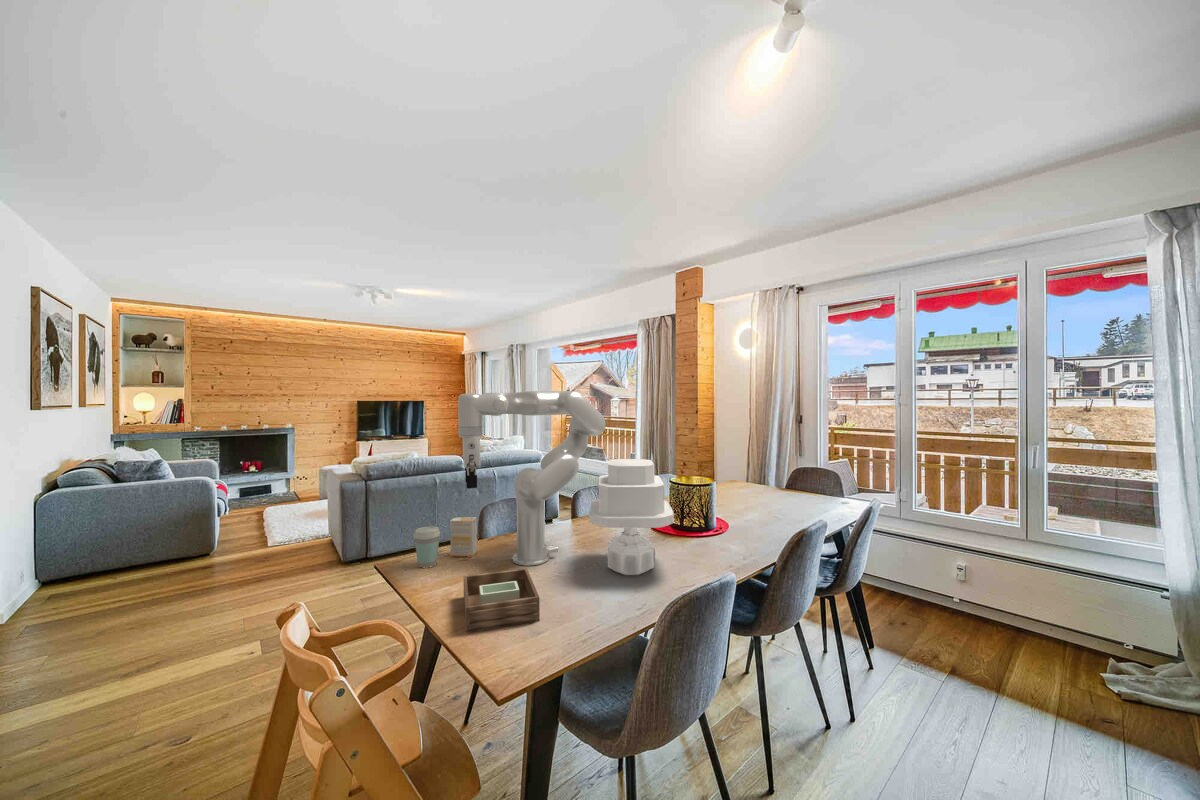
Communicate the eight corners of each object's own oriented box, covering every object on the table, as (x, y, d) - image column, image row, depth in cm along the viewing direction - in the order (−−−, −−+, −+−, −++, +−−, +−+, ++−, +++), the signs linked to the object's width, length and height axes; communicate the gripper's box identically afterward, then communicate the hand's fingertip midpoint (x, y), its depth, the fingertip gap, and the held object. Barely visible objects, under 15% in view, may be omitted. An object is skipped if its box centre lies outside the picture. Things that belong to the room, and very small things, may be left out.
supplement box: (477, 552, 166) (477, 516, 165) (472, 557, 161) (472, 520, 161) (455, 552, 166) (455, 516, 166) (450, 556, 162) (449, 520, 161)
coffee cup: (446, 562, 157) (445, 527, 157) (429, 571, 149) (428, 534, 149) (425, 559, 160) (425, 524, 159) (407, 568, 152) (407, 532, 151)
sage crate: (516, 598, 128) (516, 580, 128) (519, 608, 122) (519, 589, 122) (479, 603, 125) (479, 585, 125) (480, 614, 119) (480, 595, 119)
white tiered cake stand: (676, 585, 138) (677, 469, 137) (588, 584, 138) (588, 469, 137) (665, 553, 164) (665, 456, 164) (591, 553, 165) (591, 456, 164)
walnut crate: (527, 588, 136) (526, 568, 136) (540, 622, 116) (540, 598, 116) (463, 597, 130) (463, 576, 130) (466, 634, 110) (465, 609, 110)
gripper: (484, 434, 140) (485, 489, 140) (481, 429, 157) (481, 479, 157) (459, 434, 138) (459, 491, 138) (458, 430, 154) (458, 480, 155)
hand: (471, 484), depth 148 cm, fingers open, 9 cm apart
